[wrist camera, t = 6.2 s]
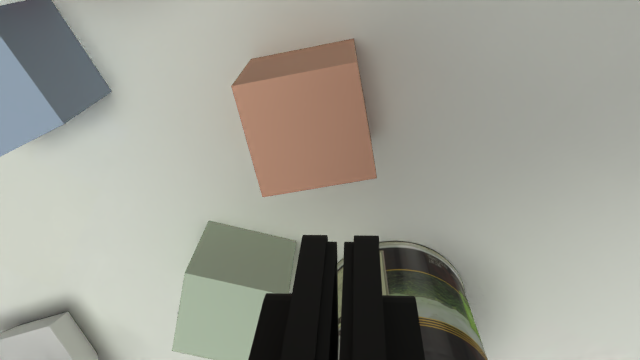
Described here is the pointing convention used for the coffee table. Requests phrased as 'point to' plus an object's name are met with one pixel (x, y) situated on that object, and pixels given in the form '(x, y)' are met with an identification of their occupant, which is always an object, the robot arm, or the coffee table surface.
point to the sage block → (229, 290)
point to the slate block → (41, 73)
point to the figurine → (46, 341)
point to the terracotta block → (305, 118)
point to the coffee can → (428, 299)
